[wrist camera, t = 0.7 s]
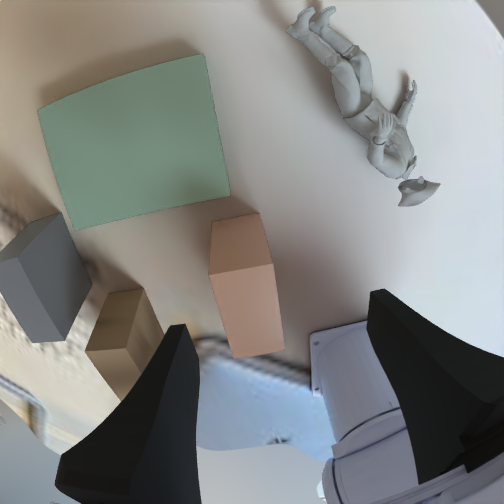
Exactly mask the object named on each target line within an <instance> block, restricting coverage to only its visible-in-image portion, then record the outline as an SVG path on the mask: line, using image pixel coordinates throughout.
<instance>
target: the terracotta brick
mask: <svg viewBox="0 0 504 504" xmlns="http://www.w3.org/2000/svg"><path fill="white" fill-rule="evenodd" d="M209 278H210V281H211V285H212V288H213V292H214V295H215V299H216V302H217V305H218V309H219V312H220V316H221V319H222V322H223V326H224V329H225V332H226V335H227V339H228V342H229V345H230V348H231V352H232V355H233V358H234V359H238V358H244V357H251V356H257V355H263V354H268V353H274V352H279V351H285V344H284V337H283V329H282V322H281V315H280V308H279V300H278V293H277V286H276V279H275V272H274V265H273V261H272V257H271V253H270V250H269V246H268V242H267V239H266V235H265V231H264V228H263V224H262V220H261V217H260V213H257V214H252V215H246V216H241V217H235V218H230V219H224V220H219V221H214V222H212V231H211V246H210V263H209Z"/></svg>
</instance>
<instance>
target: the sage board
mask: <svg viewBox="0 0 504 504" xmlns="http://www.w3.org/2000/svg"><path fill="white" fill-rule="evenodd" d="M37 112H38V116H39V120H40V124H41V128H42V132H43V136H44V140H45V144H46V147H47V151H48V154H49V158H50V161H51V165H52V168H53V171H54V174H55V177H56V180H57V184H58V187H59V190H60V192H61V195H62V198H63V201H64V204H65V207H66V209H67V212H68V215H69V217H70V220H71V223H72V225H73V228H74V230H75V231H76V230H80V229H84V228H88V227H92V226H96V225H100V224H104V223H108V222H112V221H116V220H120V219H124V218H128V217H133V216H137V215H141V214H146V213H150V212H155V211H159V210H164V209H168V208H173V207H178V206H182V205H187V204H192V203H197V202H202V201H207V200H212V199H217V198H223V197H228V196H230V186H229V181H228V176H227V171H226V166H225V160H224V155H223V150H222V145H221V140H220V135H219V129H218V124H217V119H216V114H215V108H214V103H213V98H212V93H211V87H210V82H209V77H208V71H207V66H206V61H205V56H204V55H203V54H199V55H194V56H189V57H185V58H181V59H177V60H173V61H169V62H165V63H161V64H157V65H154V66H150V67H147V68H143V69H140V70H137V71H133V72H130V73H127V74H124V75H121V76H118V77H115V78H112V79H109V80H107V81H104V82H101V83H98V84H96V85H93V86H91V87H88V88H85V89H83V90H80V91H78V92H76V93H73V94H71V95H69V96H66V97H64V98H62V99H59V100H57V101H55V102H53V103H51V104H49V105H47V106H44V107H42V108H40V109H38V110H37Z"/></svg>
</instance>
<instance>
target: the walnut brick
mask: <svg viewBox="0 0 504 504" xmlns="http://www.w3.org/2000/svg"><path fill="white" fill-rule="evenodd" d="M163 337H164V333H163V330H162V328H161V326H160V324H159V322H158V320H157V317H156V315H155V313H154V311H153V308H152V306H151V304H150V301H149V299H148V297H147V294H146V292H145V290H144V288H141V289H135V290H129V291H123V292H116V293H110V294H108V296H107V298H106V301H105V303H104V305H103V307H102V310H101V312H100V314H99V317H98V319H97V322H96V324H95V326H94V329H93V331H92V334H91V336H90V339H89V341H88V344H87V347H86V349H85V353H86V354H87V356H88V357H89V359H90V360H91V362H92V363H93V364H94V366H95V367H96V369H97V370H98V371H99V373H100V374H101V376H102V377H103V378H104V380H105V381H106V382H107V384H108V385H109V386H110V388H111V389H112V390H113V391H114V393H115V394H116V395H117V397H118V398H119V399H120V400H121V401H122V400H123V399H124V398H125V396H126V395H127V394H128V393H129V391H130V390H131V389H132V387H133V386H134V384H135V383H136V381H137V380H138V378H139V377H140V375H141V374H142V372H143V371H144V369H145V368H146V366H147V365H148V363H149V361H150V360H151V358H152V356H153V355H154V353H155V351H156V350H157V348H158V346H159V344H160V343H161V341H162V339H163Z"/></svg>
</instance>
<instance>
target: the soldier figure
mask: <svg viewBox="0 0 504 504" xmlns="http://www.w3.org/2000/svg"><path fill="white" fill-rule="evenodd" d="M335 11H336V8H335V6H331V7H328V8H325V9H324V10H322V11H321V12H320V15H319V17H318V18H317V20H316V21H312V22H311V23H310V24H309V20H310V18H311V17H312V15H313V14H315V9H314V7H310V8H307V9H305V10H303V11H301V12H300V13H299V14H298V17H297V21H296V22H295V24H292V25H291V26H290V27H289V28H288V29H287V31H286V32H287V33H288V34H290V36H292V37H293V38H295V39H298V40H300V41H301V42H302V43H303V44H304V45H305V46H306V48H307V49H308V50H309V51H310V52H311V53H312V54H313V55H314V56H315V57H316V58H317V59H318V60H319V61H320V62H321V63H322V64H323V65H327V66H328V67H329V70H330V71H331V74H332V77H331V79H332V84H333V88H334V91H335V98H336V101H337V103H338V106H339V109H340V111H341V113H342V115H343V116H344V120H345V121H346V122H347V123H348V124H349V125H350V126H351V127H352V128H353V129H354V130H356V131H357V132H358V133H360V134H361V135H362V136H363V137H365V138H366V139H368V140H369V141H370V145H369V148H368V156H367V158H368V160H369V162H370V164H372V165H373V166H375V167H376V169H378V170H379V171H380V172H381V173H383V174H384V175H385V176H386V177H388V178H396V179H399V178H401V177H402V178H403V179H405V180H406V181H403V182H401V183H400V184H399V187H398V189H399V191H400V192H401V193H402V199H401V201H400V203H399V204H398V206H399V207H402V206H415V205H418V204H420V203H422V202H424V201H425V200H426V199H428V198H429V197H431V196H432V195H433V194H434V193H435V192H436V190H437V188H438V187H439V186H440V183H433V182H429V181H426V180H424V178H423V177H422V176H420V177H419V178H418V179H410V180H407V179H408V177H409V175H410V173H411V171H412V170H413V169H414V167H415V166H416V155H415V157H414V158H413V156H414V149H413V146H412V144H411V142H410V140H409V137H408V134H407V130H406V125H407V121H408V117H409V115H410V112H411V110H412V107H413V105H412V103H413V102H414V100H415V96H416V94H417V85H416V82H415V80H413V83H414V84H413V83H412V87H413V90H412V91H409V89H408V87H407V86H406V89H407V96H408V99H407V101H403V103H402V106H401V107H400V109H399V111H398V113H397V115H396V116H395V114H394V113H393V114H392V113H390V112H389V111H388V110H387V109H386V108H385V107H384V106H383V105H382V104H381V102H380V101H379V100H378V99H373V100H372V99H371V90H372V85H373V78H372V71H371V64H370V61H369V58H368V56H367V55H366V53H365V52H363V51H362V50H360V48H359V46H358V45H357V46H356V45H353V43H351V42H350V41H348V40H347V39H345V38H344V37H342V36H341V35H339V34H338V33H337V32H335V31H334V30H333V29H332V28H330V27H329V26H328V25H329V17H330V16H331V15H332V14H333V13H335ZM309 29H310V30H311V31H312V32H314V33H315V34H319V35H320V36H321V38H322V39H323V40H325V41H326V42H328V43H329V44H330V45H331V46H332V47H333V48H334V49H335V50H337V51H338V52H339V53H341V54H342V55H343V56H346V57H347V58H348V59H350V58H351V59H350V61H349V62H348V61H347V60H345V59H342V58H341V57H340V54H339V53H337V54H335V53H334V52H333V51H332V50H331V49H330V48H328V47H327V46H326V45H325V44H323V43H322V42H321V41H320V40H319V39H318V38H317V37H316V36H315V35H313V34H312V33H311V31H310V30H309Z"/></svg>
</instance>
